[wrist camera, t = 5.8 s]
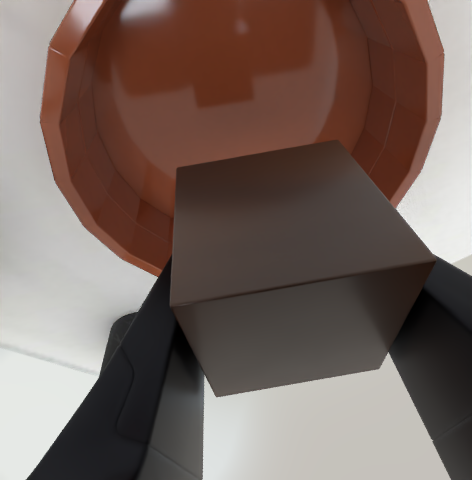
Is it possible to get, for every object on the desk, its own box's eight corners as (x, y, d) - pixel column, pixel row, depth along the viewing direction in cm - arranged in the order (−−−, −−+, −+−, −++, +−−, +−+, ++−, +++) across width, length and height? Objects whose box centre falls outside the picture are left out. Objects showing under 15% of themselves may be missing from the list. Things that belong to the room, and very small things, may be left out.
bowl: (144, 245, 21) (135, 307, 18) (4, -46, 11) (-95, -47, 7) (352, 210, 21) (387, 264, 18) (418, -116, 11) (542, -154, 7)
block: (207, 271, 11) (215, 398, 8) (175, 167, 8) (168, 306, 5) (324, 250, 11) (379, 369, 8) (338, 138, 8) (438, 259, 5)
